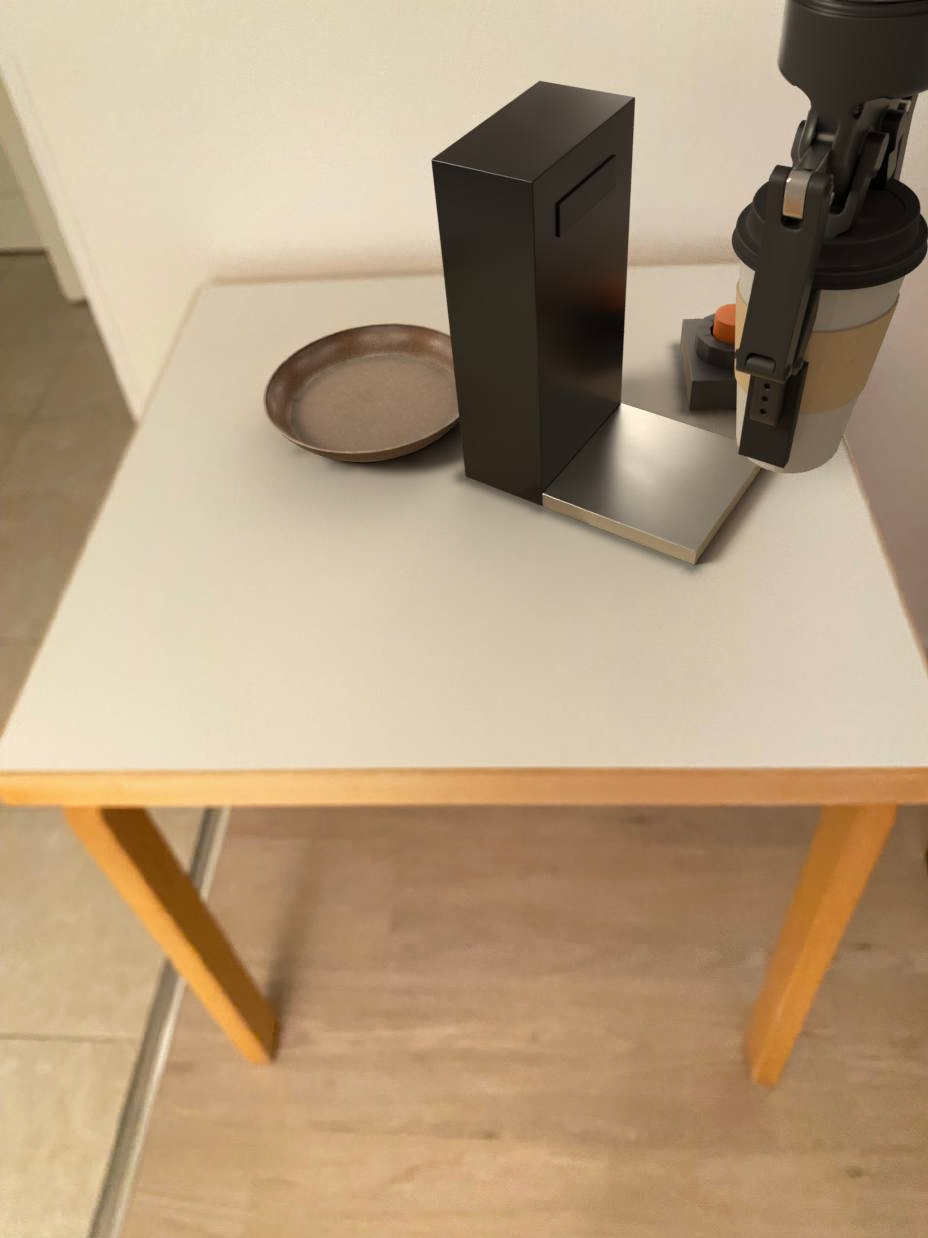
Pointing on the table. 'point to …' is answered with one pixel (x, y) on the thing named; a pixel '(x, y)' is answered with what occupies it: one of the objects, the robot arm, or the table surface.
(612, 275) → the coffee maker
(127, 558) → the table surface
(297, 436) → the plant saucer
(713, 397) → the control block
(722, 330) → the button
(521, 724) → the table surface
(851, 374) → the coffee cup
